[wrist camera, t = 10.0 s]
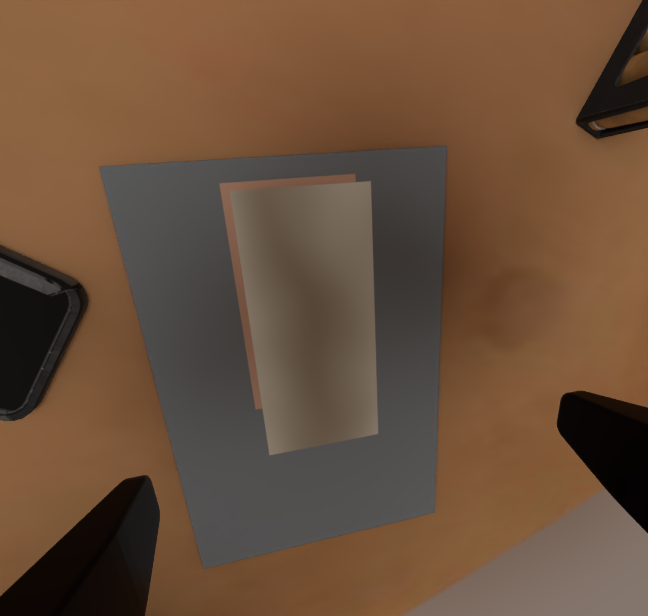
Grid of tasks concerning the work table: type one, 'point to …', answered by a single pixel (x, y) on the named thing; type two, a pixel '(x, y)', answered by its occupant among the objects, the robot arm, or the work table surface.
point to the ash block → (310, 310)
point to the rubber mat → (238, 354)
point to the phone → (33, 329)
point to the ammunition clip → (621, 85)
